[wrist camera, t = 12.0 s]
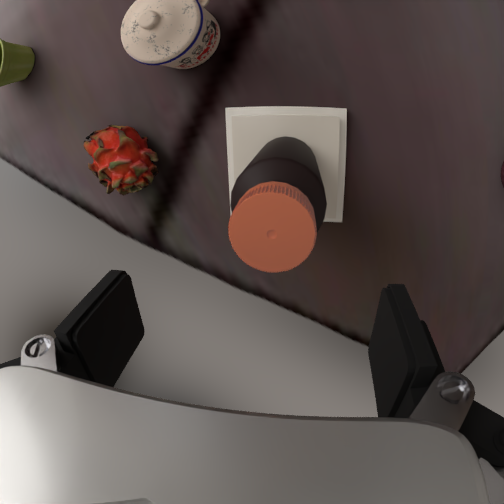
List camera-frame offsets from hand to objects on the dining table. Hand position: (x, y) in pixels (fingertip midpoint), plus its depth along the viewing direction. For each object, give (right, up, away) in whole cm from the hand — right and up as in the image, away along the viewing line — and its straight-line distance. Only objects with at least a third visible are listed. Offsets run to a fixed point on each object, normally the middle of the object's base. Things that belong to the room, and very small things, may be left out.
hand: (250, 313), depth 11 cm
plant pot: (-38, +34, +24) cm, 56 cm away
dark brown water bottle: (+4, +12, +24) cm, 27 cm away
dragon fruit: (-16, +16, +29) cm, 37 cm away
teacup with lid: (-7, +30, +20) cm, 37 cm away
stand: (+4, +13, +27) cm, 30 cm away
